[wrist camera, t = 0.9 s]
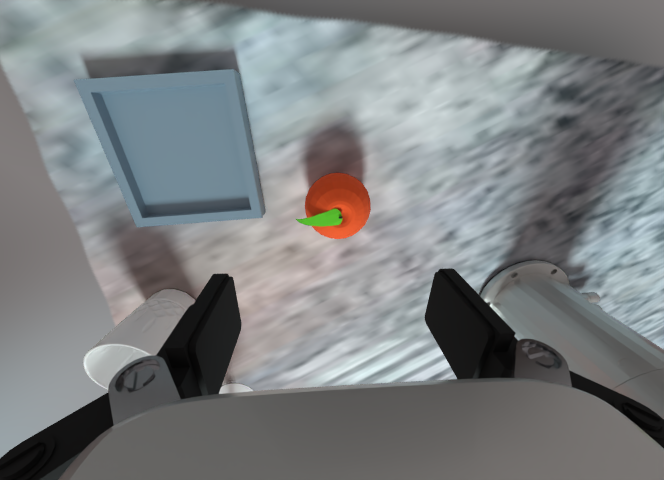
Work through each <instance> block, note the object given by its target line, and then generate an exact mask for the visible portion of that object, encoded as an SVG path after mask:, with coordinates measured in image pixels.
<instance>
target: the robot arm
mask: <svg viewBox="0 0 664 480" xmlns="http://www.w3.org/2000/svg"><path fill="white" fill-rule="evenodd" d="M598 301H600V297H599V295H598V294H597V293H595V292H589V293H580V292H578V291H577V290H575V289H574V288H572V287H570V286H569V280H568V277H567V275H566V274H565V272H564V271H563V270H561V269H560V268H559V267H557V266H555V265H553V264H552V263H549V262H546V261H538V260H534V261H526V262H522V263H518V264H515V265H513V266H510V267H508V268H507V269H505V270H503V271H501V272H500V273H499V274H497V275H496V276H495V277H494V278H493V279H492V280H491V281H490V282H489V283H488V284H487V285H486V287H485V288H484V289H483V291H482V293H481V295H480V296H479V295H478V294H477V293H476V291H475V290H474V289H473V288H472V287H471V286H470V285H469V284H468V283H467V282H466V281H465V280H464V279H463V278H462V277H461V276H460V275H459V274H458V273H457V272H456V271H455V270H454V269H439V271H438V272H436V273H435V275H434V279H433V283H432V288H431V292H430V296H429V301H428V305H427V309H426V313H425V321H426V324H427V326H428V328H429V329H430V331H431V333H432V335H433V336H434V338H435V340H436V342H437V343H438V345H439V347H440V349H441V350H442V352H443V354H444V356H445V357H446V359H447V361H448V363H449V365H450V366H451V368H452V370H453V372H454V373H455V375H456V377H457V379H454V380H434V381H415V382H396V383H378V384H360V385H343V386H326V387H310V388H294V389H278V390H262V391H249V392H237V393H224V394H219V392H220V389H221V386H222V383H223V380H224V377H225V374H226V371H227V368H228V365H229V363H230V360H231V357H232V354H233V351H234V348H235V345H236V342H237V339H238V337H239V334H240V331H241V319H240V313H239V308H238V302H237V297H236V291H235V286H234V280H233V277H229V275H228V274H213V275H212V277H211V278H210V280H209V281H208V283H207V284H206V286H205V287H204V289H203V290H202V292H201V294H200V295H199V297H198V298H197V300H196V301H195V303H194V304H192V305H190V306H189V307H188V309H187V310H186V312H185V313H184V315H183V316H182V317H181V319H180V320H179V322H178V323H177V325H176V326H175V328H174V329H173V331H172V332H171V334H170V335H169V337H168V338H167V340H166V341H165V343H164V344H163V346H162V347H161V349H160V350H159V352H158V353H157V355H156V356H151V355H150V356H145V357H141V358H139V359H136V360H134V361H132V362H131V363H129V364H127V365H125V366H124V367H123V368H122V369H120V370H119V371H118V372H117V373H116V374H115V376H114V377H113V378H112V380H111V382H110V383H109V387H108V393H106V394H105V395H103V396H101V397H100V398H98V399H96V400H94V401H93V402H91V403H89V404H87V405H86V406H84V407H82V408H80V409H79V410H77V411H75V412H73V413H72V414H70V415H68V416H67V417H65V418H63V419H61V420H60V421H58V422H56V423H54V424H53V425H51V426H49V427H47V428H46V429H44V430H42V431H41V432H39V433H37V434H35V435H34V436H32V437H30V438H28V439H27V440H25V441H23V442H22V443H20V444H19V445H17V446H16V447H14V448H13V449H11V450H10V451H9V452H7V453H6V454H5V455H4V456H3V457H1V459H0V480H664V350H663V349H662V348H660V347H659V346H657V345H656V344H654V343H653V342H651V341H650V340H648V339H646V338H645V337H643V336H642V335H640V334H639V333H637V332H636V331H634V330H632V329H631V328H629V327H628V326H626V325H625V324H623V323H622V322H620V321H619V320H617V319H615V318H614V317H612V316H611V315H609V314H608V313H606V312H605V311H603V310H602V308H601V307H600V306H599V305H596V304H592V303H593V302H598Z"/></svg>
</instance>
